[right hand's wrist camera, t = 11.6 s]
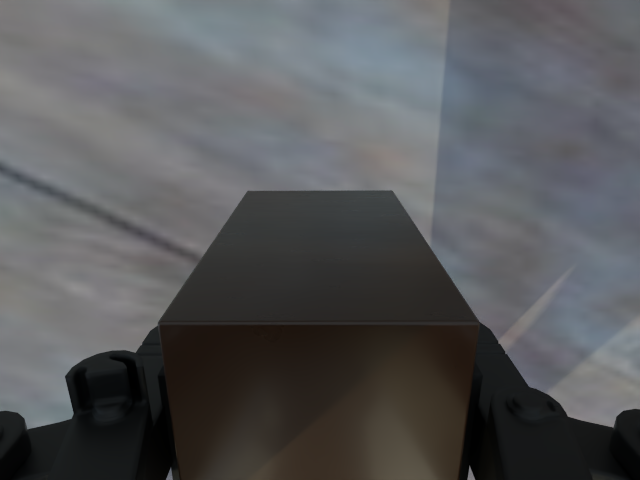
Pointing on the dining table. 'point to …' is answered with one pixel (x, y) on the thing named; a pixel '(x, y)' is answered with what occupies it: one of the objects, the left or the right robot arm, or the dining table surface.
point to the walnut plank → (319, 346)
